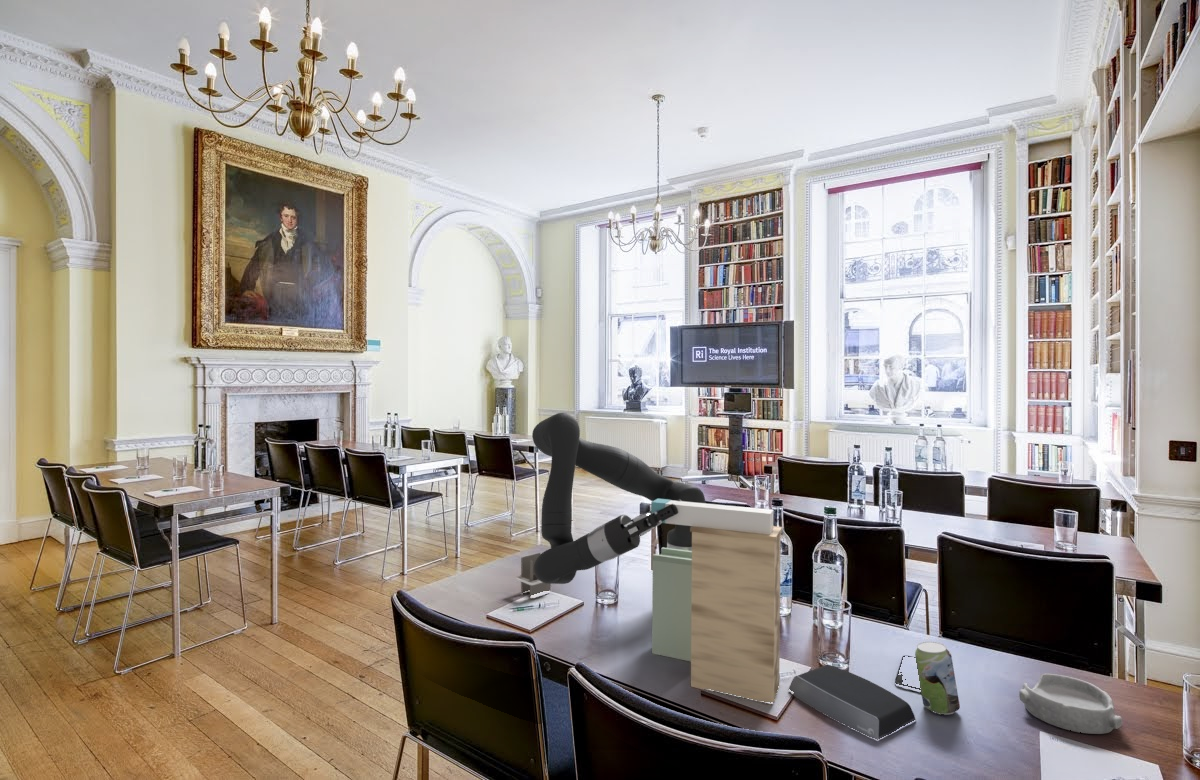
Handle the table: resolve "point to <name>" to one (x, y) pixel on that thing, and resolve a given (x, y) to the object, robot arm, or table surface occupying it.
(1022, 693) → the dish
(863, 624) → the table surface
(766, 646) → the oak stand
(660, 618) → the sage green upright box
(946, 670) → the beverage can
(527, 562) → the architectural model
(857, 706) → the external hard drive
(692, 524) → the white teal square bar
